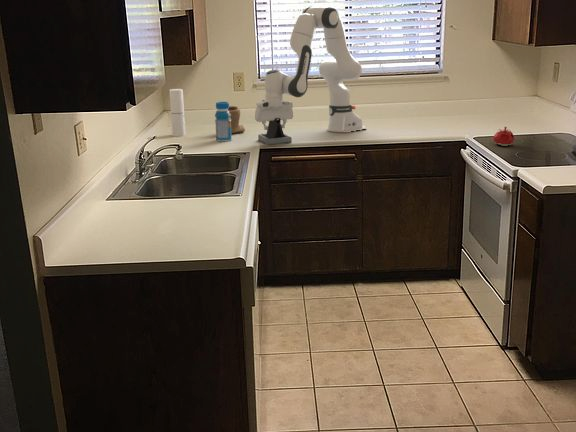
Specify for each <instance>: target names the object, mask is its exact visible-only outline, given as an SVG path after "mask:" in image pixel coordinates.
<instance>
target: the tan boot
mask: <svg viewBox="0 0 576 432" xmlns="http://www.w3.org/2000/svg"><path fill="white" fill-rule="evenodd" d="M228 111H229V112H230V114H231V116H230V118H231V134H238V133H243V132H245V131H246V129H245V127H244V125H242V124H241V125H240V118H241V108H239V107H238V106H236V105H229V109H228Z"/></svg>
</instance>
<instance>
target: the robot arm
mask: <svg viewBox="0 0 576 432" xmlns="http://www.w3.org/2000/svg"><path fill="white" fill-rule="evenodd" d="M316 29H323V33H324V41H325V47H326V51H327V53H328V54H329V55H330V56H332V57H333V58H330V59H324V60H322V61H321V62H320V64H319V66H318V67H319V68H318V72H319V74H320V77H322V78H323V79H324V80H325V82H326V84H327V87H328V90H329V105H328V113H329V114H328V115H329V118H328V123H327V128H326V130H327V132H328V131H329V132H333V133H334V132H335V133H352V132H351V131H354V132H357V131H356V130H360V131H362V130H361V129H366V130H367V126H365V125H363V119H362V117H360V116H359V115H358V114H356V113H355V112H354V111H353V110H356V109H357V107H356V105H351V102H350V99H351V98H350V97H351V94H350V93H351V91H350V89H349V88H348V87H347V86H345V84H344V82H343V81H355V80H358V79H359V78H360V76H362V72H363V69H362V65H361V63H360V62H359V61H357V60H356V59H355V57H354V56H353V55H352V54H351V52H350V50H349V48H348V44H347V43H348V42H347V38H346V32H345V27H344V23H343V20H342V18H341V16H340V15H339V12H338V10H337V9H336V8H335V7H333V6H325V5H316V6H313V5H311V6H306V7H305V8H304V9H303V11H302V13H301V14H299V16H298V17H297V18H296V21H295V24H294V26H293V29H292V32H291V35H290V41H289V44H290V48H291V49H292V50H293V52H294V53H296V55H297V57H298V59H297V60H298V62H297V67H296V72H295V75H294V76H293V75H289V74H287V73H284V72H282V71H281V70H280V69H271V70H268V71H267V72H266V73H265V78H264V90H265V95H264V98H263V99H261V100H258V101H257V102H256V108H255V112H254V119H255V121H256V122H257V123H261V124H262V126H263V130H264V131H267V130H268V125H266V123H267V122H269V121H274V119H275V118H280V120H281V121H282V123H281V127H282V129H285V128H286V127H285V126H286V123H287V122H288V120H292V119H293V118H294V112H293V102H292V101H290V100H287V101H283V94H284V95H287V96H293V97H294V98H301V97H303V96H304V95H305V94H306V93H307V91H308V86H309V85H308V83H309V82H308V77H309V73H310V67H311V61H312V55H313V54H312V53H313V52H312V45H313V40H314V35H315V30H316ZM277 120H279V119H277Z"/></svg>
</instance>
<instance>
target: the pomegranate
mask: <svg viewBox="0 0 576 432" xmlns="http://www.w3.org/2000/svg"><path fill="white" fill-rule="evenodd" d="M496 131H498V132H496V133H495V134H494V135H493V138H492V139H493V143H494V142H496V143H501V144H511V143H513V144H514V141H515V136H514V133H513V132H512V131H511V130H509V129H508V126H504V129H502V130H501V129H500V128H499V129H498V130H496Z"/></svg>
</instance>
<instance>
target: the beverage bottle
mask: <svg viewBox="0 0 576 432" xmlns="http://www.w3.org/2000/svg"><path fill="white" fill-rule="evenodd" d="M229 106H230V103H229V102H228V101H217V102H216V103H215V108H216V111H215V114H214V117H215V120H214V122H215V137H216V138H215V139H216V141H217V142H224V143H225V142H229V141H230V142H231V141H232V139H233V137H232V133H231V118H230V116H231V114H230V112H229V111H228V109H229Z"/></svg>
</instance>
